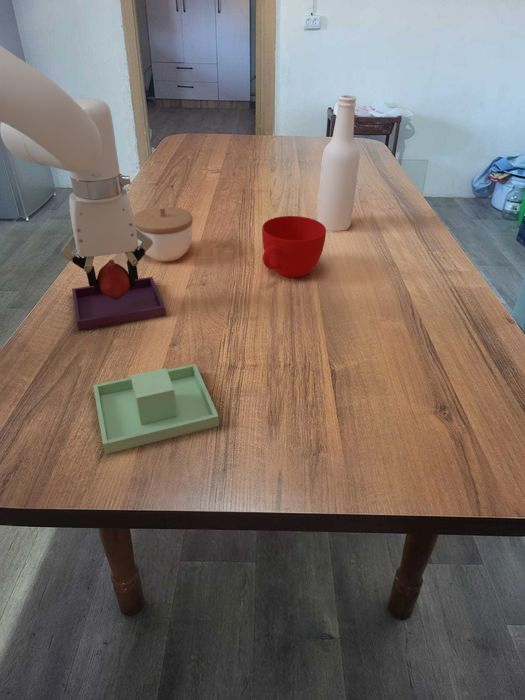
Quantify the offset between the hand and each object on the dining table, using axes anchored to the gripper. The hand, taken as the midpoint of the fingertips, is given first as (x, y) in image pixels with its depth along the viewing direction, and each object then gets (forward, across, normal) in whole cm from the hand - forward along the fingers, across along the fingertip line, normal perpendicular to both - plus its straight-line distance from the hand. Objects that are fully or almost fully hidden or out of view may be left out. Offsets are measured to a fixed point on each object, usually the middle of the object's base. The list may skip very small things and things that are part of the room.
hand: (114, 284), depth 89 cm
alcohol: (+5, -57, -23) cm, 62 cm away
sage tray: (+5, -1, +30) cm, 30 cm away
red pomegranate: (+3, 0, 0) cm, 3 cm away
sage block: (+5, -1, +30) cm, 30 cm away
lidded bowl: (+5, -13, -19) cm, 24 cm away
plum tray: (+5, 0, 0) cm, 5 cm away
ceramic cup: (+5, -35, -2) cm, 36 cm away
